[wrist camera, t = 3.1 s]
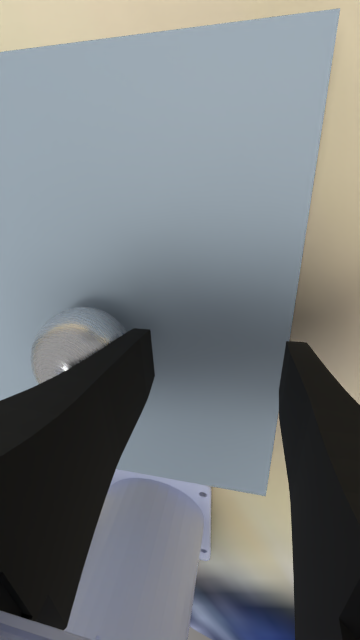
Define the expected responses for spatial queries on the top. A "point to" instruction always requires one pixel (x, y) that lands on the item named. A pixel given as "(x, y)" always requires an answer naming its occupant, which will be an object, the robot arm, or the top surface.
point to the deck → (168, 220)
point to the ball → (71, 340)
